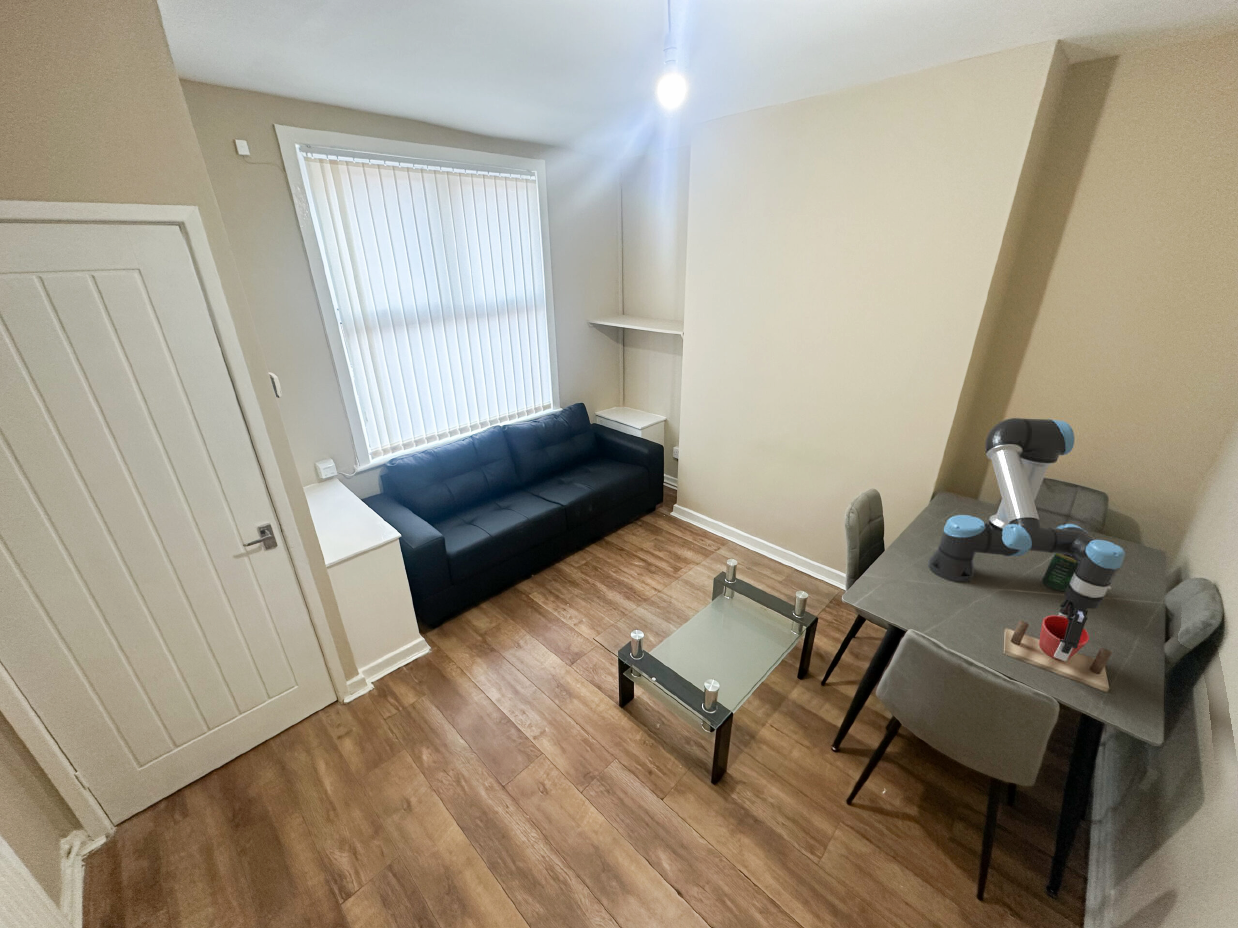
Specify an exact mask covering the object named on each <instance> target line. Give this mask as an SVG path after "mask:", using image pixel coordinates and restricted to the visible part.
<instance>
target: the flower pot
mask: <svg viewBox="0 0 1238 928" xmlns="http://www.w3.org/2000/svg"><path fill="white" fill-rule="evenodd" d="M1067 625H1068V620H1067V618H1066V617H1062V616H1058V615H1054V614H1053V615H1047V616H1045V617H1044V618H1043V620H1042V624H1041V629H1040V634H1039V646H1040V648H1041V650H1042V651H1044V653H1046V654H1047V655H1049V656H1050V657H1053V658H1055V657H1054V655H1055V653H1056V651H1057V649H1058V647H1059V645H1060V643H1061V642H1060V640H1064V637H1065V633H1066V629H1067ZM1089 641H1090V635H1089V633H1088V631H1087V630H1086V629H1085V627H1084V628H1083V631H1082V634H1081V637H1080V640H1079V643H1078V647H1077V649H1075V648H1073V649H1072V651H1071V653H1070V655H1069V657H1068V659H1069V658H1070V657H1072V656H1073V655H1074V654H1075V653H1079V651H1080V650H1081V649H1082V648H1084V646H1085V645H1087V644H1088V642H1089ZM1055 659H1058V658H1055ZM1059 660H1061V659H1059Z"/></svg>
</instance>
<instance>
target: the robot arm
mask: <svg viewBox="0 0 1238 928" xmlns="http://www.w3.org/2000/svg"><path fill="white" fill-rule="evenodd" d="M1075 437H1076V436H1075V433H1074V429H1073V428H1072V426H1071V425H1070V424H1069V423H1068V422H1066V421H1064V420H1057V419H1051V418H1049V419H1047V418H1045V419H1043V418H1042V419H1041V418H1021V417H1020V418H1019V417H1012V418H1007V419H1003V420H1001V421H999V422H998V423H997V424H995V425H994V426H993V427H992V428H991V429H990V430H989V432H988V433H987V436H986V438H985V443H984V450H985V455H986V457H987V458H988V459H989V460H991V462H992V467H993V471H994V474H995V478H996V481H997V485H998V488H999V492H1000V495H1001V502H1000V504H999V507H998V510H997V512H996V513H995V514H994V515H993V514H992V515H991V516H990V517H989V519H988V522H984V521H983V520H982V519H981V518H979V517H977V516H972V515H967V514H958V515H953V516H951V517H950V518H948V519H947V520H946V523H945V525H944V526H943V532H942V536H941V538H940V542H939V545H938V547H937V549H936V550H935V552H933V554H932V555H931V556H930V557H929V560H928V563H927V566H928V568H929V569H930V571H931V572H932V573H933V574H935V575H937V576H939V577H940V578H943V579H946V580H948V581H953V582H959V583H965V582H969V581H971V580H972V579H973V578H974V574H975V565H974V557H975V555H976V553H977V554H979V553H980V554H987V555H997V556H998V555H999V556H1003V557H1020V556H1023V555H1025V554H1026V553H1027V552H1028V551H1033V552H1042V553H1049V554H1050V553H1052V554H1054V553H1058V554H1068V555H1070V556H1071V557H1072V558H1073V559H1074V560H1075V561H1077V562H1078V563H1079V565H1078V567H1077V569H1076V571H1075V572H1074V575H1073V577H1072V579H1071V581H1070V584H1069V585H1068V587H1067V589H1066V591H1064V597H1065V599H1064V600H1063V601H1062V602H1061V604H1060V605H1059V606H1060V609H1059V613H1058V615H1057V616H1062V617H1066V618H1067V620H1068V625H1067V629H1066V633H1065V637H1064V640H1060V642H1061V643H1060V645H1059V647H1058V649H1057V651H1056V653H1055V655H1054V657H1055V658H1058V659H1061V660H1064V661H1067V659H1068V657H1069V655H1070V653H1071V651H1072V649H1073V648H1075V649H1077V647H1078V643H1079V640H1080V637H1081V634H1082V631H1083V628H1084V629H1085V625H1086V623H1087V620H1088V619H1089V618H1088V614H1089V613H1088V612H1089V611H1088V610H1090V609H1093V610H1094V609H1095V610H1096V609H1098V608H1099V606H1100V605H1101V602H1102V601H1103V599H1104V597H1105V595H1106V593H1107V591H1108V590H1112V586H1110V585H1111V583H1112V582H1113V580H1114V578H1115V577H1116V575H1117V573H1118V572H1119V570H1120V568H1121V566H1123V561H1124V558H1125V557H1126V552H1125V549H1123V547H1121V546H1120V545H1117V544H1115V543H1113V542H1112V541H1108V540H1104V539H1096V538H1094V537H1093V536H1092V535H1091V534H1090V532H1088V531H1087V530H1085V529H1083V528H1082V527H1081V526H1079V525H1076V524H1074V523H1066V524H1061V525H1058V526H1057V527H1045V526H1042V523H1041V521H1040V517H1039V514H1038V510H1037V507H1036V504H1035V500H1036V497H1037V495H1038V492H1039V490H1040V487H1041V485H1042V483H1043V480H1044V478H1045V476H1046V473H1047V470H1048V468H1049V466H1050V465H1053V464H1056V463H1057V461H1058V460H1059V457H1060V456H1066V455H1068V454H1069V453H1071V452H1072V451H1073V448H1074V445H1075V441H1076V440H1075Z"/></svg>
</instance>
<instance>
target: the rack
mask: <svg viewBox="0 0 1238 928" xmlns="http://www.w3.org/2000/svg"><path fill="white" fill-rule="evenodd" d="M1028 628H1029V623H1027V622H1026V621H1024V620H1019V621H1018V623H1017V625H1016V628H1015V630H1013V629H1010V628H1007V627H1005V629H1004V636H1003V637H1004V638H1003V639H1004V640H1003V641H1004V642H1003V654H1004V655H1005V656H1008V657H1011V658H1014V659H1016V660H1018V661H1022V662H1025V663H1027V664H1029V665H1033V666H1035V667H1038V668H1041V669H1044V670H1047V671H1049V672H1052V673H1053V674H1054V673H1055V674H1056V675H1060V676H1062V677H1065V678H1067V679H1070V680H1073V681H1076V682H1079V683H1082V684H1084V685H1087V686H1089V687H1091V688H1093V689H1094V688H1095V689H1098V690H1100V691H1102V692H1106V693H1108V692H1109V689H1110V685H1109V681H1108V676H1107V671H1106V664H1107V662H1108V661H1109V660H1110V659H1109V658H1110V657H1111V656H1112V654H1113V653H1112V651H1111V650H1109V649H1108V648H1104V647H1101V648H1099V650H1098V652H1097V654H1096V655H1095V658H1094V657H1090V656H1088V655H1085V654H1082V653H1079V652H1077V653H1075V654H1074V655H1073V656H1072V657H1070V658H1069V659H1067V661H1064V660H1059V659H1055V658H1053V657H1050V656H1049V655H1047V654H1046V653H1044V651H1042V650H1041V648H1040V646H1039V640H1040V638H1036V637H1034V636H1031V635H1028V634H1026V632H1027V630H1028Z"/></svg>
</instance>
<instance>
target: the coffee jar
mask: <svg viewBox="0 0 1238 928" xmlns="http://www.w3.org/2000/svg"><path fill="white" fill-rule="evenodd" d="M1078 565H1079V563H1078V562H1077V561H1075V560H1074V559H1073V558H1072V557H1071V556H1070V555H1068V554H1058V553H1053V555H1052V558H1051V559H1050V562H1049V564H1048V566H1047V568H1046V570H1045V572H1044V575H1043V577H1042V579H1041V583H1042V584H1043V585H1045V586H1047V587H1048V588H1049V589H1052V590H1056V591H1059V592H1066V589H1067V587H1068V585H1069V584H1070V581H1071V579H1072V577H1073V575H1074V572H1075V571H1076V569H1077V567H1078Z"/></svg>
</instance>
